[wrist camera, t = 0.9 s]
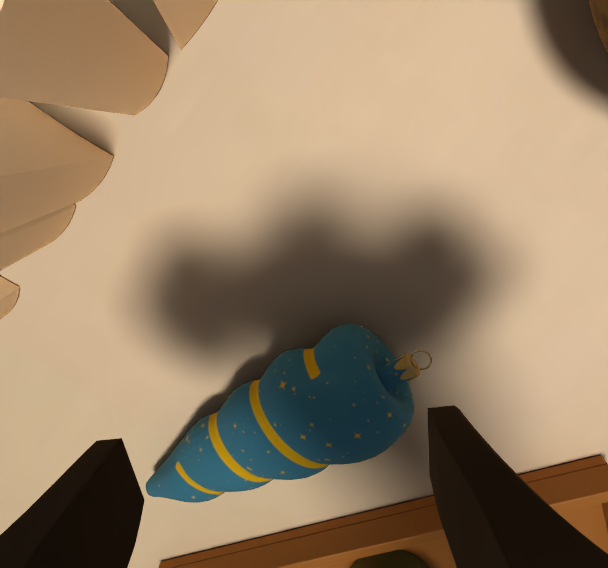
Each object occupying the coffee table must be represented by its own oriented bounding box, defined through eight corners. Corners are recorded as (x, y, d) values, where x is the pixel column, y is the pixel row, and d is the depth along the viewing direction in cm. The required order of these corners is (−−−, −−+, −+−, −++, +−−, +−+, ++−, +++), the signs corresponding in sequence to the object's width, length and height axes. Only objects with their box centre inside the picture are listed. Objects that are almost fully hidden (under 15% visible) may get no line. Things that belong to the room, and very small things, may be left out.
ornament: (153, 421, 26) (398, 275, 21) (208, 502, 27) (466, 380, 21) (82, 479, 22) (375, 311, 16) (150, 578, 22) (464, 446, 16)
